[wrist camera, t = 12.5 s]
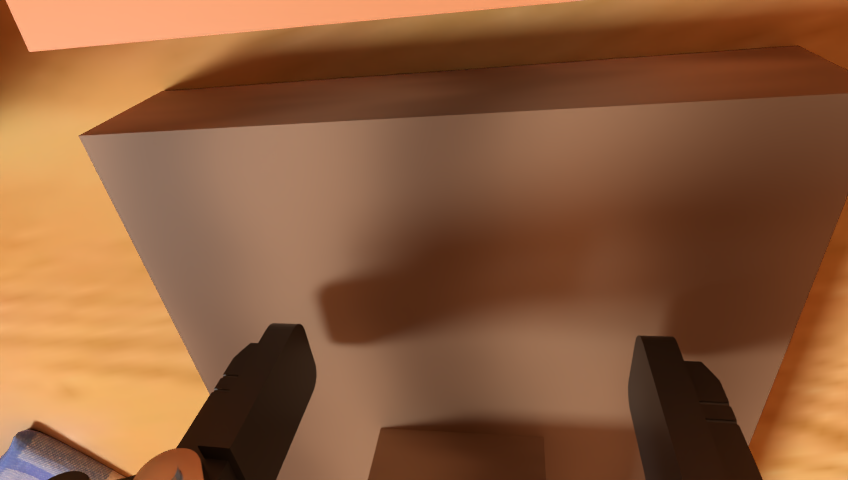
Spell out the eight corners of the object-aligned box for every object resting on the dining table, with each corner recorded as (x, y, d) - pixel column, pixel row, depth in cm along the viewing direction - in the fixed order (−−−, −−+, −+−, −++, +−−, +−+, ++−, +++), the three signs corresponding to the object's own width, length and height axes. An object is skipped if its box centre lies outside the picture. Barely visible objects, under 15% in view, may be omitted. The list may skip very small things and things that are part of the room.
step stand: (797, 45, 11) (1065, 179, 6) (663, 520, 22) (712, 722, 17) (162, 91, 14) (-58, 208, 9) (319, 491, 25) (265, 654, 20)
